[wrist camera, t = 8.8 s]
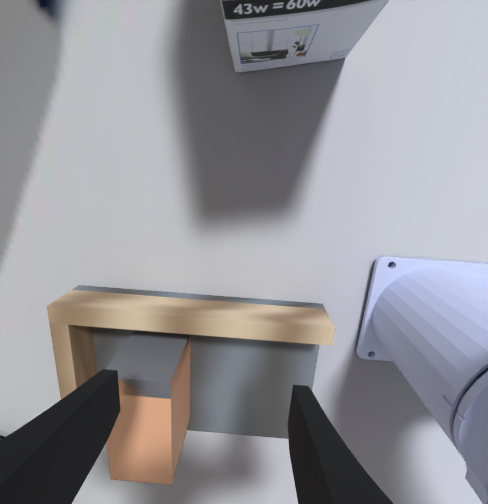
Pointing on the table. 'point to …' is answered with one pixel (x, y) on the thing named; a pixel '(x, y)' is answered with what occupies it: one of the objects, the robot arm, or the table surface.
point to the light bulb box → (294, 30)
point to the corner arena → (200, 349)
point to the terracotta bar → (150, 406)
